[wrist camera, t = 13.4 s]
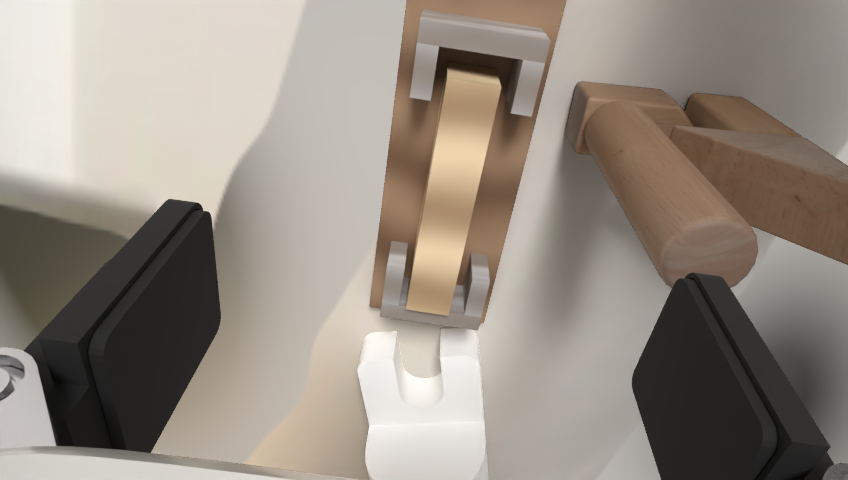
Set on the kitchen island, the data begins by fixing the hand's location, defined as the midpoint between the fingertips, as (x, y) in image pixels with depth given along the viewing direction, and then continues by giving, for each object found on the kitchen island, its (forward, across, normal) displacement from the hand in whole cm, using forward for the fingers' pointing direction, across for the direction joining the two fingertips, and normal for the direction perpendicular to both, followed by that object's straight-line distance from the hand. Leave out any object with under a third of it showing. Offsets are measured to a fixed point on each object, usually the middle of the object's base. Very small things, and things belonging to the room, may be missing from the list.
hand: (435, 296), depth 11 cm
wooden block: (+27, -13, +4) cm, 30 cm away
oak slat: (+25, -1, +10) cm, 27 cm away
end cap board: (+26, -1, +10) cm, 28 cm away
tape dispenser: (+26, -3, +33) cm, 42 cm away
